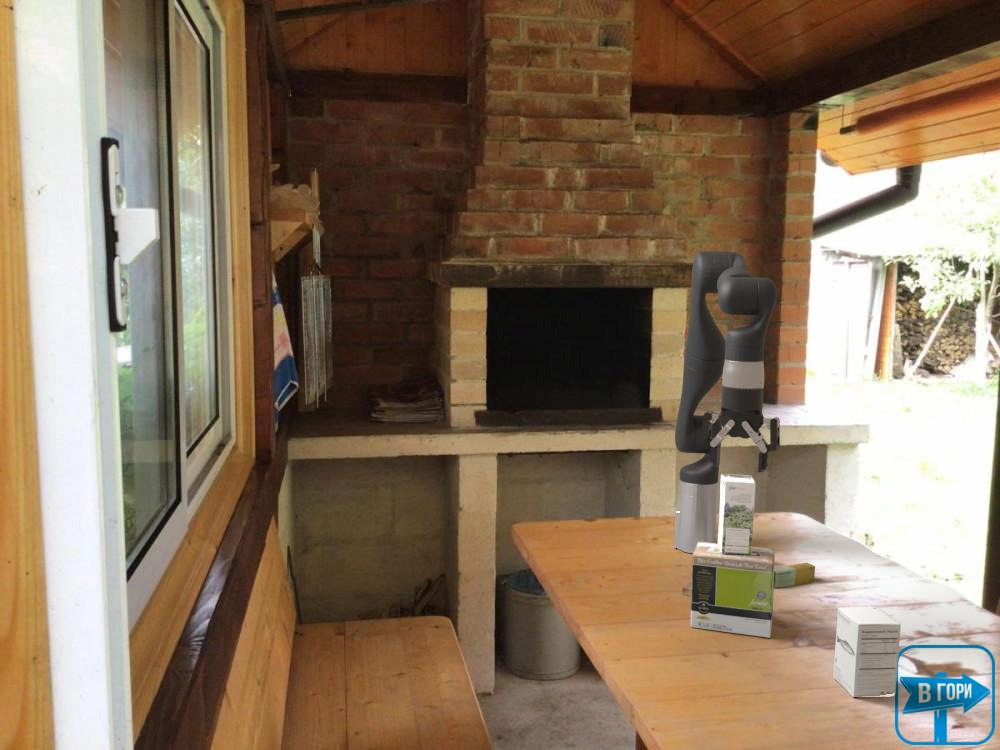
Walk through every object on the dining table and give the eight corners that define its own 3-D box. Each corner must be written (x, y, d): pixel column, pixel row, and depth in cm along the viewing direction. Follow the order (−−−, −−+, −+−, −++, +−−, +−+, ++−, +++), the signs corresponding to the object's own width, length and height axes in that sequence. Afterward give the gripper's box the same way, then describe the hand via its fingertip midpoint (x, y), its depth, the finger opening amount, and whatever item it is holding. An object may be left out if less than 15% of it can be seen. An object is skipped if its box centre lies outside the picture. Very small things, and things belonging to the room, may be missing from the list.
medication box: (772, 590, 190) (774, 572, 190) (764, 585, 193) (765, 568, 192) (814, 582, 195) (816, 565, 195) (805, 578, 198) (807, 561, 197)
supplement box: (831, 678, 148) (836, 606, 147) (873, 677, 149) (878, 605, 148) (852, 699, 141) (857, 623, 140) (896, 698, 142) (902, 623, 140)
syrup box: (746, 546, 172) (750, 473, 170) (752, 556, 166) (756, 481, 164) (717, 545, 172) (720, 472, 171) (721, 554, 167) (724, 479, 165)
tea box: (772, 620, 173) (776, 547, 171) (770, 640, 164) (774, 563, 162) (694, 609, 178) (697, 538, 176) (688, 628, 168) (691, 553, 167)
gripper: (699, 383, 165) (696, 467, 167) (777, 389, 158) (772, 477, 160) (711, 379, 172) (707, 460, 174) (786, 385, 165) (781, 469, 167)
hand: (738, 468), depth 167 cm, fingers open, 8 cm apart
